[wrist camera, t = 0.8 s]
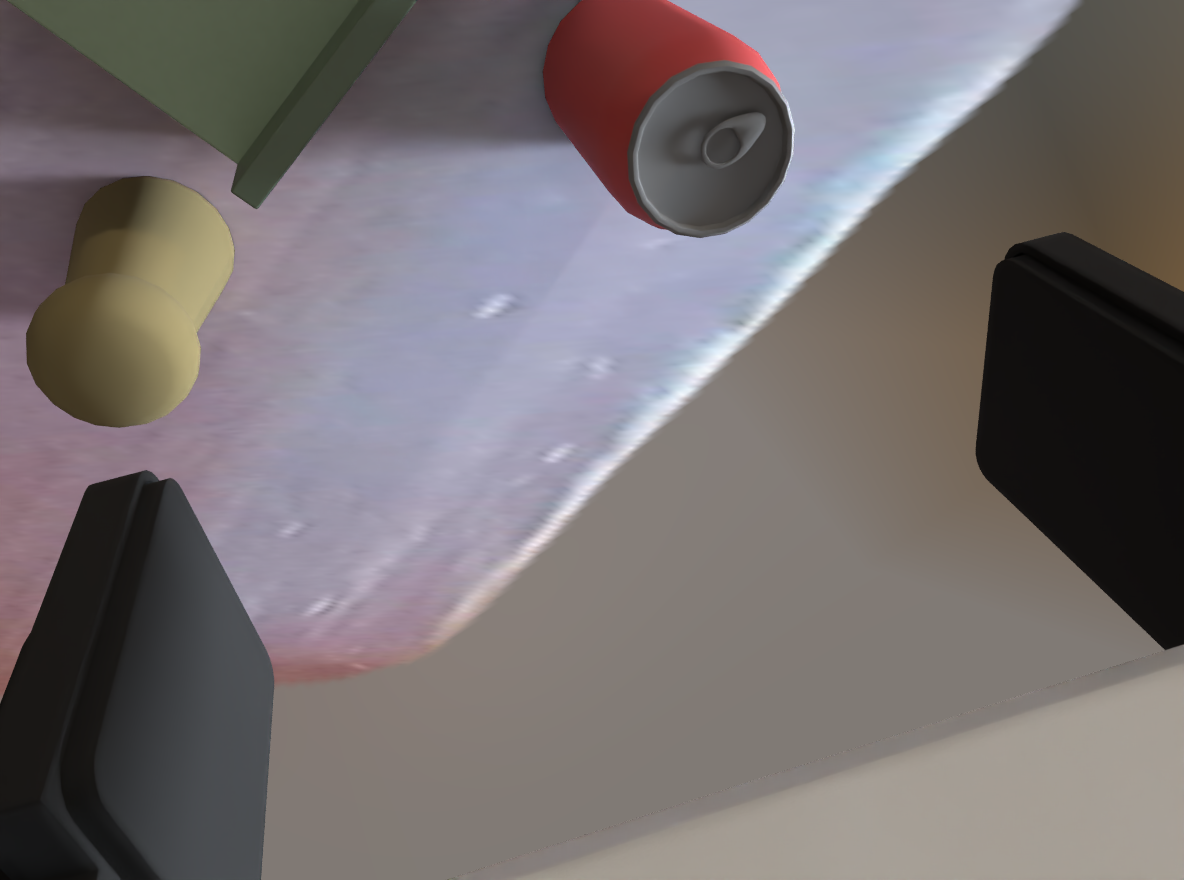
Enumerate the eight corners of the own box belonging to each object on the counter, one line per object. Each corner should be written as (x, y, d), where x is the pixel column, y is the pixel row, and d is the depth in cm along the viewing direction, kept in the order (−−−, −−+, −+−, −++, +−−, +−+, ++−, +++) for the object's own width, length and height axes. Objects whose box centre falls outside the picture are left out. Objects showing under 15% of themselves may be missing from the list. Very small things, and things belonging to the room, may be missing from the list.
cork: (63, 288, 38) (-16, 431, 29) (90, 153, 36) (12, 264, 27) (215, 330, 41) (185, 473, 32) (250, 206, 38) (228, 323, 29)
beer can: (716, 91, 40) (840, 178, 30) (591, 179, 41) (673, 289, 31) (645, -52, 36) (761, -4, 27) (508, 48, 37) (573, 129, 27)
